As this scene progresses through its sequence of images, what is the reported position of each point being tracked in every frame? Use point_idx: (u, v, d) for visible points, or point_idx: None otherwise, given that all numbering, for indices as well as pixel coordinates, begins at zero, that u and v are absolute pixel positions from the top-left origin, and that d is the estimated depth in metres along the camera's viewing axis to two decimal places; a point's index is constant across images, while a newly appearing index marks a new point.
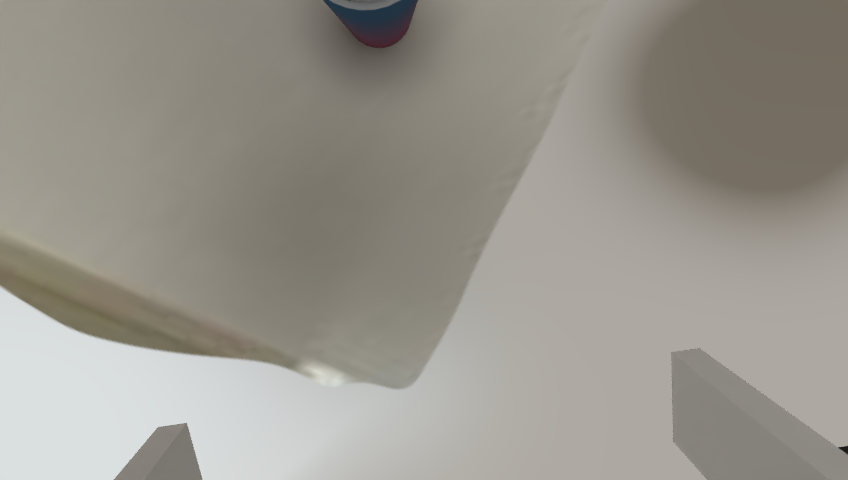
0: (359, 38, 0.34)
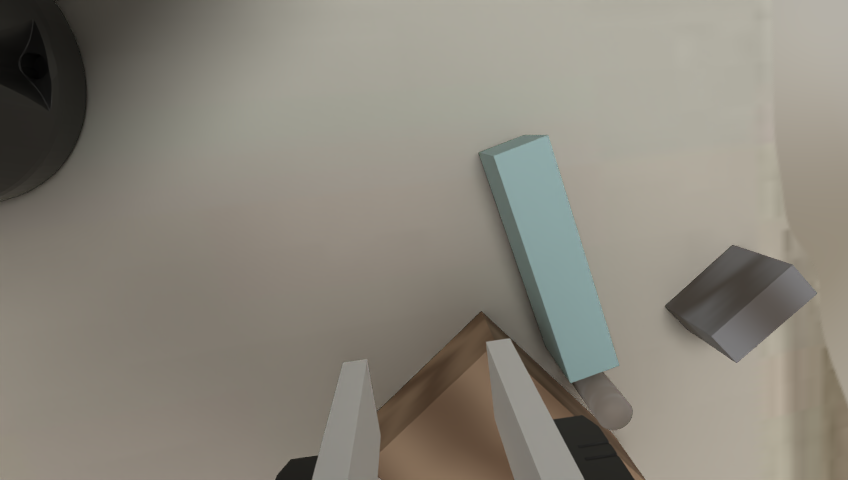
0: None
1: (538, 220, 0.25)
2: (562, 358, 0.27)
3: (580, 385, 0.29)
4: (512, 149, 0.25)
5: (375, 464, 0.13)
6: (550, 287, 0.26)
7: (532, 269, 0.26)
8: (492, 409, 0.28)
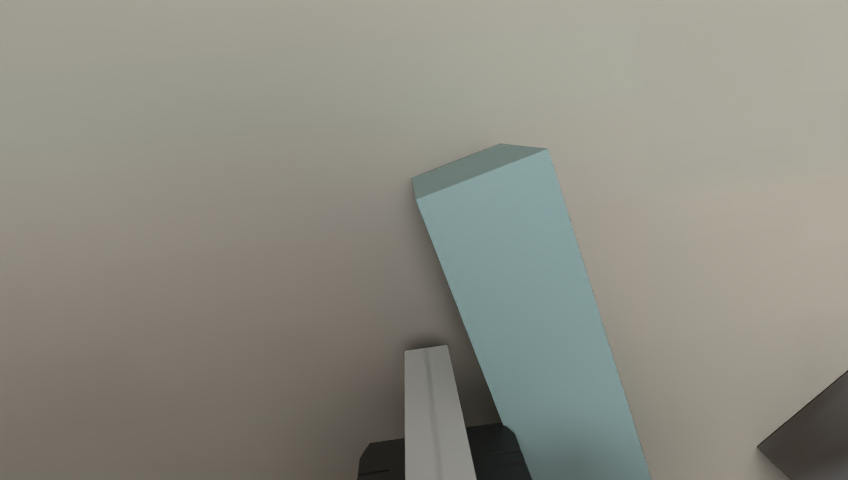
0: None
1: (525, 343, 0.11)
2: None
3: None
4: (461, 183, 0.10)
5: None
6: None
7: None
8: None
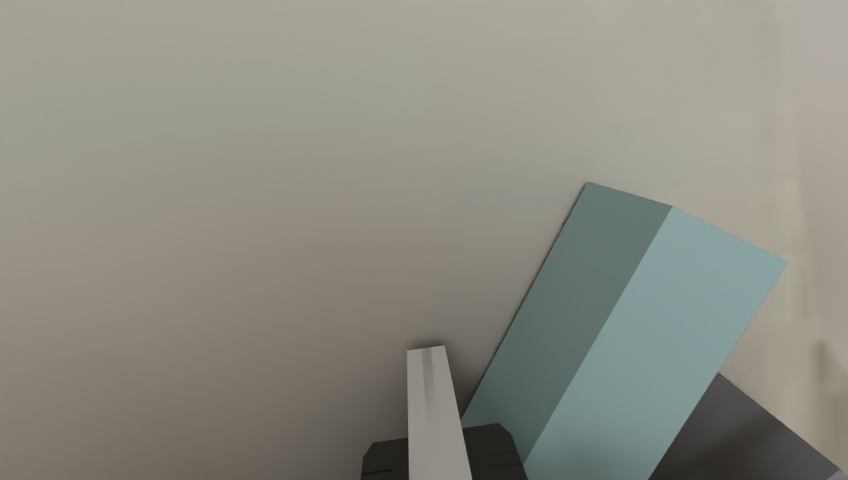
0: None
1: (623, 384, 0.11)
2: None
3: None
4: (710, 227, 0.10)
5: None
6: None
7: (529, 453, 0.11)
8: None
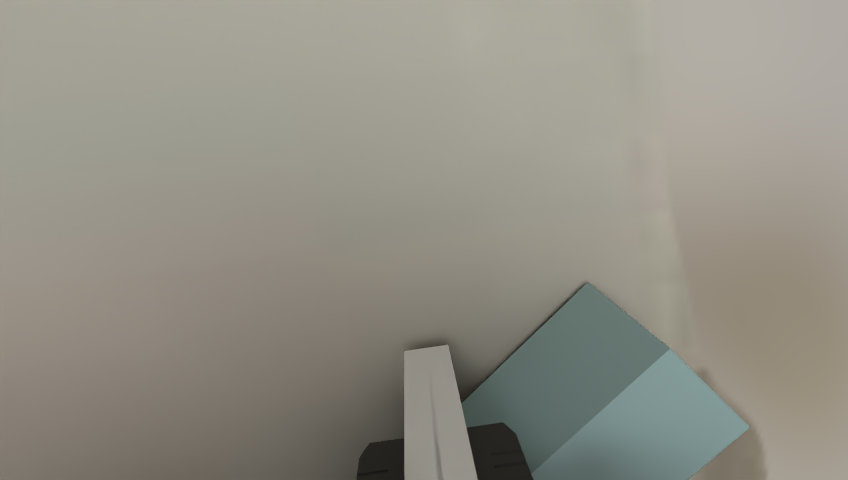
0: None
1: None
2: None
3: None
4: (695, 376, 0.11)
5: None
6: None
7: None
8: None
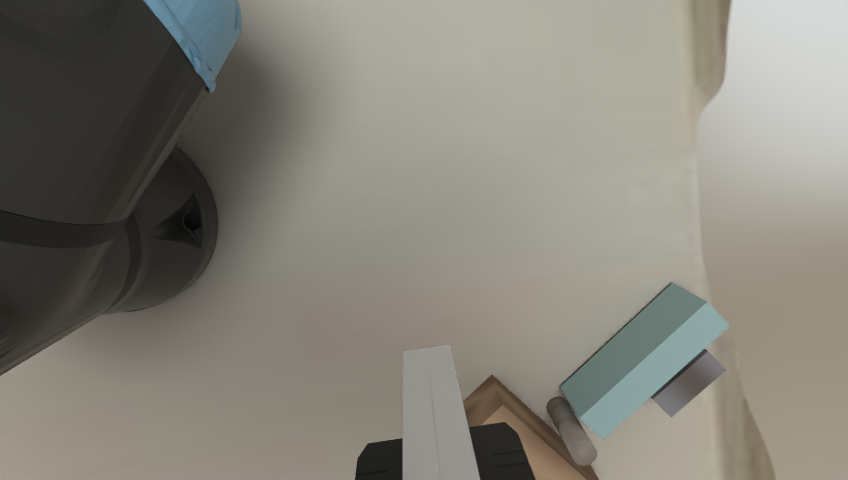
0: None
1: (677, 345, 0.38)
2: (593, 404, 0.39)
3: (562, 432, 0.41)
4: (714, 310, 0.38)
5: None
6: (638, 374, 0.39)
7: (645, 358, 0.39)
8: None
